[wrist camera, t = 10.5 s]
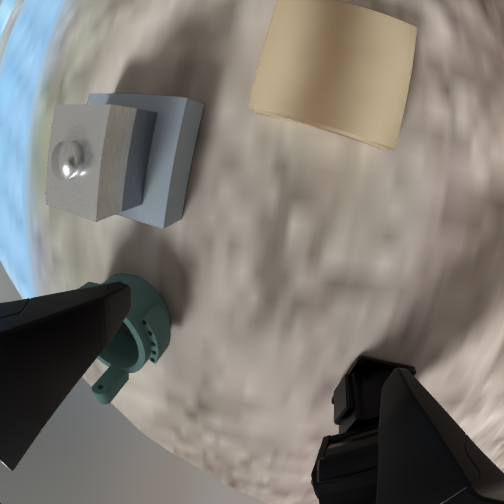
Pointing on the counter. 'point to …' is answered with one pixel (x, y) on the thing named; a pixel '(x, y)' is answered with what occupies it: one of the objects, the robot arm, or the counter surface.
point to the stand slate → (163, 153)
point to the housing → (98, 158)
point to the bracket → (133, 348)
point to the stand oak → (336, 69)
